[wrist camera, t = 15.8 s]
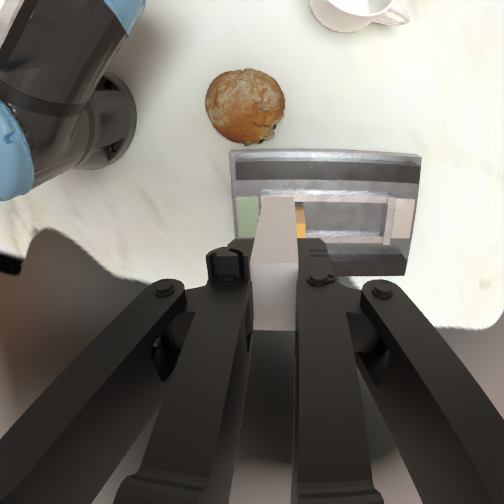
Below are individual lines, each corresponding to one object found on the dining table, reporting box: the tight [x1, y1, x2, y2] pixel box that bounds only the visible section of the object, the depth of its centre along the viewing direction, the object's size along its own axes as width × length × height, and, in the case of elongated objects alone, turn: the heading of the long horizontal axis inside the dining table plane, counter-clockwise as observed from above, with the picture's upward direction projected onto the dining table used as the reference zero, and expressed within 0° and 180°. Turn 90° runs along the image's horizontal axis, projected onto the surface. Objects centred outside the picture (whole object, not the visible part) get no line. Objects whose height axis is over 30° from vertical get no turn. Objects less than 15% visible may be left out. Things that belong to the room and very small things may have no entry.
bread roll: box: [205, 68, 285, 146], centre depth 37 cm, size 10×10×8 cm
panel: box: [229, 149, 422, 276], centre depth 43 cm, size 26×18×4 cm
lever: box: [295, 202, 305, 238], centre depth 41 cm, size 3×4×7 cm
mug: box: [310, 0, 410, 33], centre depth 27 cm, size 9×12×11 cm
